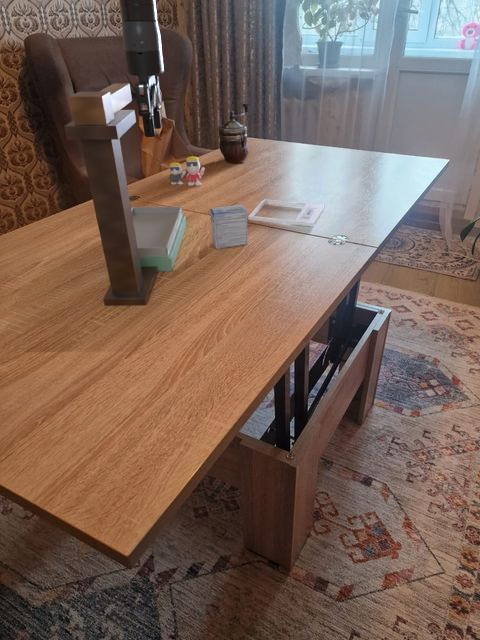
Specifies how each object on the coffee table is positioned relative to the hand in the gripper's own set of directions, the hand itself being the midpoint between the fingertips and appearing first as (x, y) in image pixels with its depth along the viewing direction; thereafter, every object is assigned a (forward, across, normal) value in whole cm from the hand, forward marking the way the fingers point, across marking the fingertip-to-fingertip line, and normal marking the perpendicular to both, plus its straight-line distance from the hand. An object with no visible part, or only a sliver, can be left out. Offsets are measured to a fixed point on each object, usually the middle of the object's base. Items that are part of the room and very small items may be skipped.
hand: (153, 132), depth 108 cm
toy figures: (+24, -42, 0) cm, 48 cm away
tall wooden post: (+24, +29, -2) cm, 38 cm away
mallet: (-8, +24, -2) cm, 25 cm away
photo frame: (+24, -13, +32) cm, 42 cm away
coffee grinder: (+24, -72, +15) cm, 78 cm away
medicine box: (+24, +7, +17) cm, 30 cm away
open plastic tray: (+24, +8, -2) cm, 25 cm away
